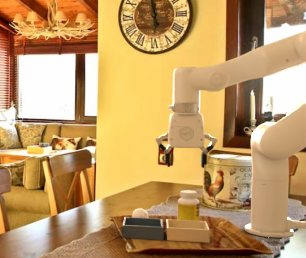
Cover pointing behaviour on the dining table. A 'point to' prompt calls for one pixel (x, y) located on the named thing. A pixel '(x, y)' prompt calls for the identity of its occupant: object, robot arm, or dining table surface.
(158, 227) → the slate bin
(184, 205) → the pill bottle
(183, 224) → the cream bin
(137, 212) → the white ball
